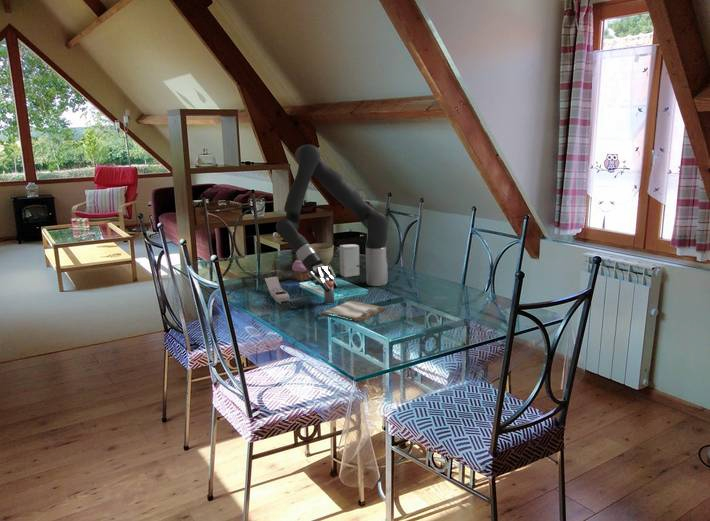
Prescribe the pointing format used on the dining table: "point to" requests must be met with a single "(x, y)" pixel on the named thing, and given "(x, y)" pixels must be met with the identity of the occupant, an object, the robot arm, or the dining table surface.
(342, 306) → the clipboard
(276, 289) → the mobile phone
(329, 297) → the grey and red cylinder
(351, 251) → the skincare box
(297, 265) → the cupcake
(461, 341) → the dining table surface
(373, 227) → the robot arm
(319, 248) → the planter bowl
